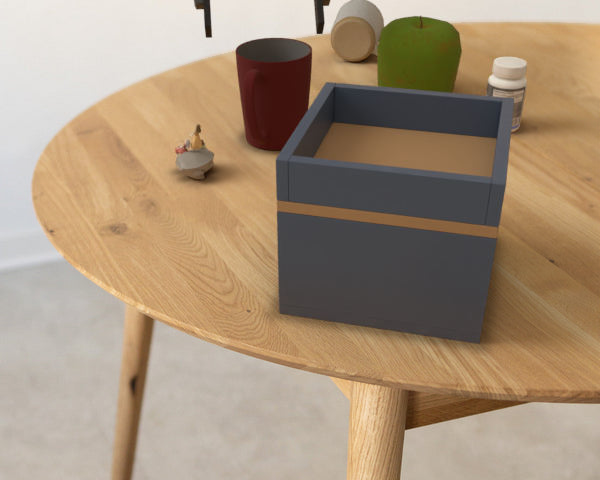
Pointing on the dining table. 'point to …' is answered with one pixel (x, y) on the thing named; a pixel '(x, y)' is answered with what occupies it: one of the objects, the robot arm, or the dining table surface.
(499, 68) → the pill bottle
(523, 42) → the dining table surface
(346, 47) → the ceramic mug
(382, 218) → the box
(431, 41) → the apple
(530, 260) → the dining table surface
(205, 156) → the figurine
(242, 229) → the dining table surface
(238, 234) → the dining table surface
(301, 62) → the mug
